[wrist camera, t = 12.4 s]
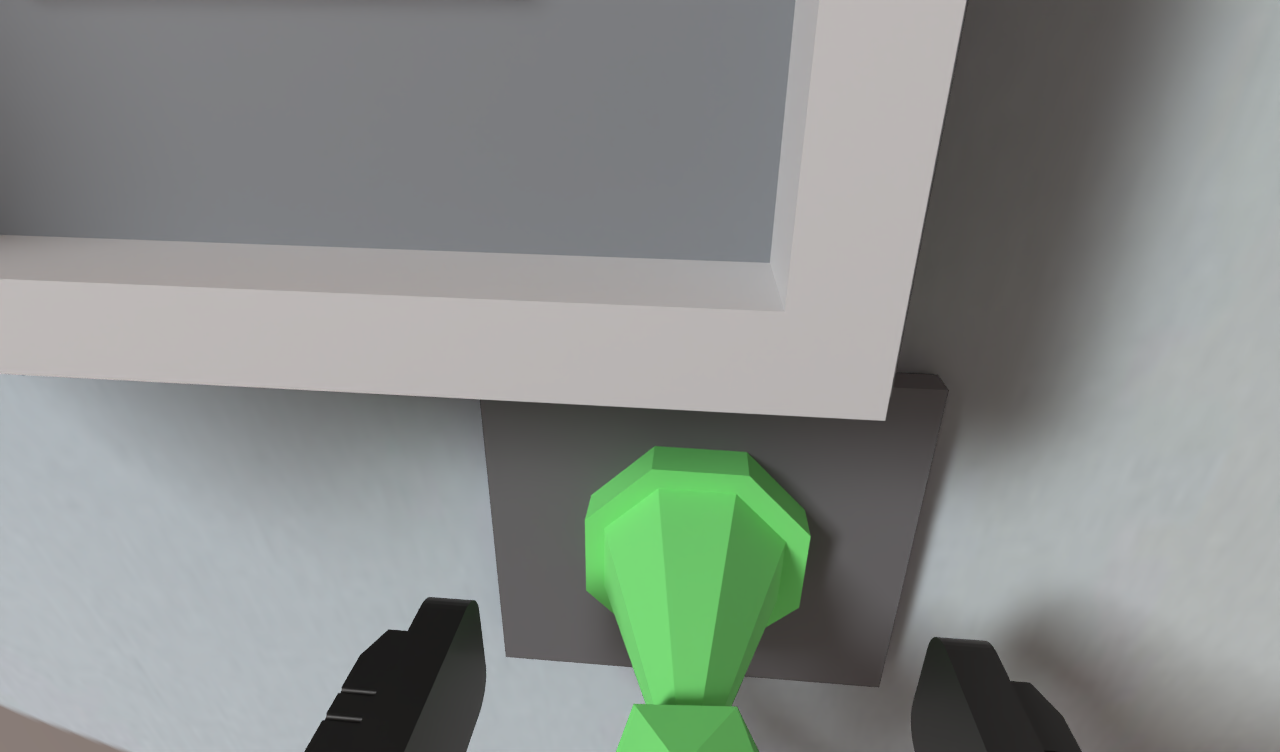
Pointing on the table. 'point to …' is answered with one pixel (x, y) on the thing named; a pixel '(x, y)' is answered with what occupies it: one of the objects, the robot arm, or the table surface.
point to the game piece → (693, 586)
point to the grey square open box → (473, 196)
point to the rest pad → (786, 449)
